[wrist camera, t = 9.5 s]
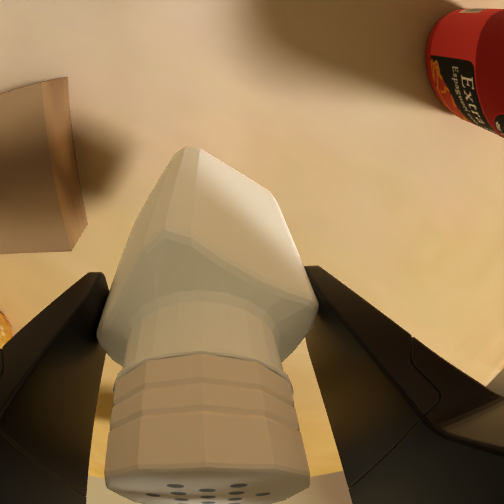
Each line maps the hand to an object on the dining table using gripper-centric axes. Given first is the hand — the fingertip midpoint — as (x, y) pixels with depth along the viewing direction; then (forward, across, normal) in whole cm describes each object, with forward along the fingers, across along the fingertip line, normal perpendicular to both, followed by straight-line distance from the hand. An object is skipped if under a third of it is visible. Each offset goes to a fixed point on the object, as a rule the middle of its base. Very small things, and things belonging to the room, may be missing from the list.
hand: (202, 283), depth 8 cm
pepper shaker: (+4, 0, 0) cm, 4 cm away
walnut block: (+10, +12, -1) cm, 16 cm away
